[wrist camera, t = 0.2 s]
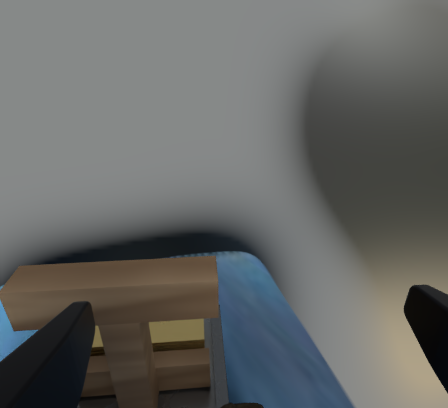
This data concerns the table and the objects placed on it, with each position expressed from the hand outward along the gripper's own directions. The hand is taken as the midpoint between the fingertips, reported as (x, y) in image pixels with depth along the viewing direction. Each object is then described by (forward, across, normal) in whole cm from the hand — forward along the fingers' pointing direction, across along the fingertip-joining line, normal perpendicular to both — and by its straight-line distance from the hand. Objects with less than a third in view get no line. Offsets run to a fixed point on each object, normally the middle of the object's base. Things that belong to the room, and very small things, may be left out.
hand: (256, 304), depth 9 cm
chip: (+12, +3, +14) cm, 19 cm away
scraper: (+8, +5, +14) cm, 17 cm away
